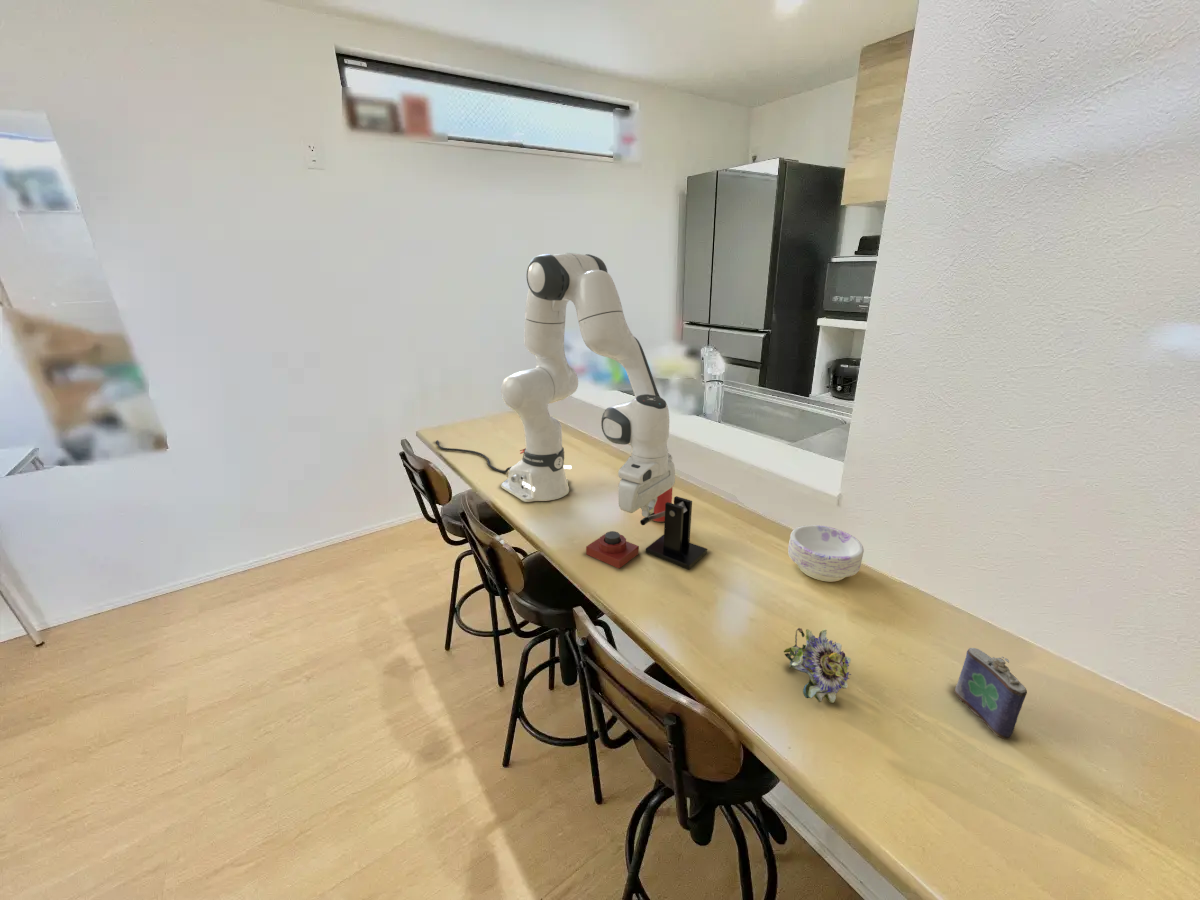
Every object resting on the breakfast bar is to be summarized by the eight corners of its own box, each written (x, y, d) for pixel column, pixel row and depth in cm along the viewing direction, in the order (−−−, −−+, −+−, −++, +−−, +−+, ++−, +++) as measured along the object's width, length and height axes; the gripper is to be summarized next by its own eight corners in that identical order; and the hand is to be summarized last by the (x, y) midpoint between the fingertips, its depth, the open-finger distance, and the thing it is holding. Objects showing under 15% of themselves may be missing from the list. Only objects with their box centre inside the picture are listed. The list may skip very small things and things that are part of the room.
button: (602, 541, 119) (601, 535, 118) (611, 535, 121) (611, 529, 121) (613, 546, 116) (613, 540, 116) (622, 540, 119) (622, 534, 118)
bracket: (645, 552, 121) (646, 501, 116) (664, 537, 127) (666, 489, 122) (688, 569, 114) (692, 516, 109) (706, 553, 120) (710, 502, 115)
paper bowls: (853, 558, 117) (859, 529, 115) (862, 596, 104) (869, 564, 101) (785, 547, 122) (789, 519, 119) (786, 582, 109) (790, 551, 106)
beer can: (670, 524, 134) (672, 483, 130) (646, 521, 135) (647, 481, 131) (671, 512, 140) (673, 474, 136) (648, 510, 141) (649, 472, 137)
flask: (950, 690, 81) (967, 638, 77) (966, 688, 81) (983, 636, 77) (1000, 741, 72) (1022, 685, 68) (1018, 738, 73) (1040, 682, 69)
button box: (586, 554, 120) (586, 540, 119) (606, 540, 126) (606, 527, 125) (619, 568, 114) (619, 553, 113) (638, 553, 120) (639, 539, 119)
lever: (642, 527, 122) (638, 519, 122) (653, 520, 125) (649, 511, 125) (679, 516, 113) (675, 506, 113) (690, 508, 117) (686, 499, 117)
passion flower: (823, 723, 81) (822, 709, 73) (768, 675, 88) (760, 657, 80) (863, 670, 84) (866, 650, 75) (805, 627, 91) (803, 604, 82)
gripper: (661, 448, 127) (659, 496, 132) (613, 473, 112) (613, 526, 117) (682, 453, 124) (679, 503, 128) (636, 479, 109) (635, 534, 113)
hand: (647, 514), depth 123 cm, fingers closed
